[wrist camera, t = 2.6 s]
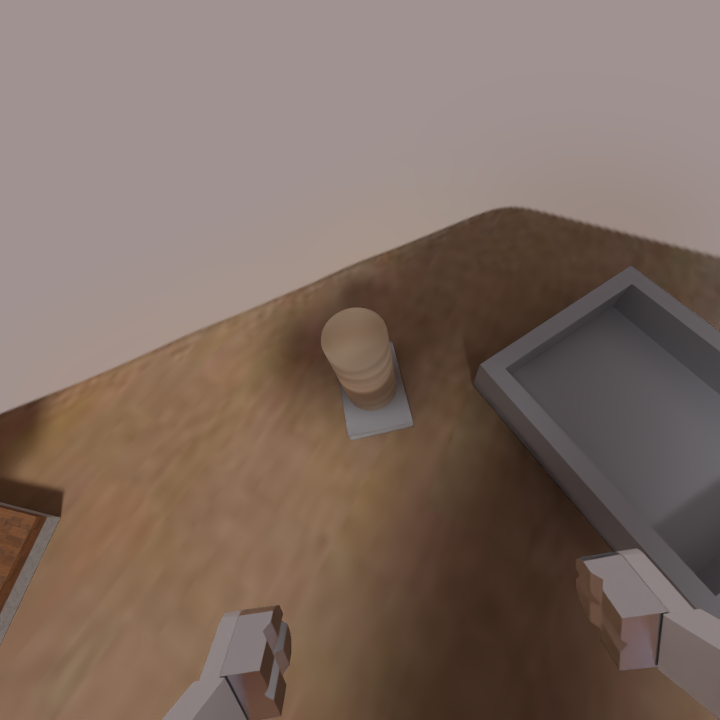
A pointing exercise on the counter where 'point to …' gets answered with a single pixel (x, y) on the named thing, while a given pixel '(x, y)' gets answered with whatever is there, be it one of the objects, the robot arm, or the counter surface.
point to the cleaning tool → (366, 373)
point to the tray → (626, 422)
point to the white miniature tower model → (20, 554)
